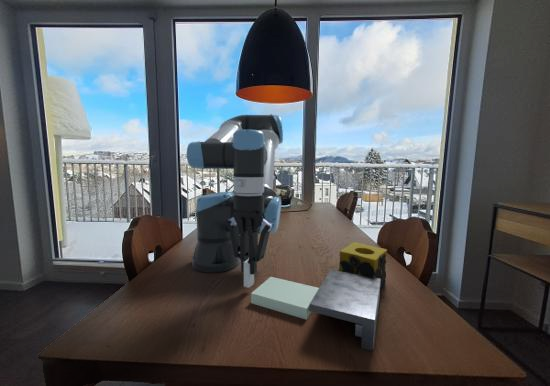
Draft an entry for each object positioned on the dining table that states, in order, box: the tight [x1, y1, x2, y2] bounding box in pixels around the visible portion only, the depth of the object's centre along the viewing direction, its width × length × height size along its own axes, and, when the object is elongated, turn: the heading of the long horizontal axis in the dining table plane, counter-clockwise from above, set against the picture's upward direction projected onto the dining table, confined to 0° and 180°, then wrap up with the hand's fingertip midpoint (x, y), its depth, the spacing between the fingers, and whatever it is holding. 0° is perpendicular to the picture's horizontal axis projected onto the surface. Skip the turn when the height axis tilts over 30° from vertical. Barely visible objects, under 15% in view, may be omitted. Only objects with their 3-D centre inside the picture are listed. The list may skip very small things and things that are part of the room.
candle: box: [338, 241, 388, 289], centre depth 72 cm, size 10×10×10 cm
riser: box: [309, 269, 381, 352], centre depth 57 cm, size 12×18×6 cm, turn 155°
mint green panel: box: [250, 276, 320, 320], centre depth 63 cm, size 14×10×3 cm
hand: (249, 284), depth 67 cm, fingers closed
